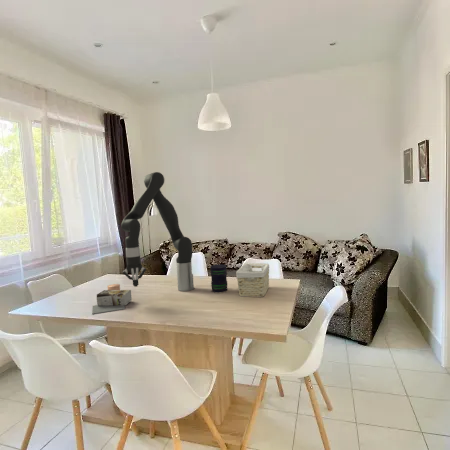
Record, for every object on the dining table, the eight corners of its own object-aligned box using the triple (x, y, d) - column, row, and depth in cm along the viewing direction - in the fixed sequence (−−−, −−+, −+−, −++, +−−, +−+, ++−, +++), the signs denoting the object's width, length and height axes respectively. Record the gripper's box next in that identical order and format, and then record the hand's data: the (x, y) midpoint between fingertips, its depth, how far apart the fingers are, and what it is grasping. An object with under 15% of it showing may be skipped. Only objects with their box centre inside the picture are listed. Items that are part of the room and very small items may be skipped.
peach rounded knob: (120, 294, 200) (119, 283, 199) (121, 297, 193) (120, 286, 193) (108, 296, 197) (107, 285, 197) (108, 299, 191) (107, 287, 190)
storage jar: (228, 287, 204) (227, 264, 202) (226, 292, 194) (225, 267, 193) (212, 288, 205) (211, 264, 203) (210, 292, 195) (209, 268, 194)
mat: (123, 301, 185) (123, 301, 185) (125, 309, 172) (125, 308, 172) (92, 306, 179) (92, 305, 179) (92, 314, 166) (92, 313, 166)
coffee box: (124, 294, 176) (96, 294, 177) (125, 305, 176) (97, 306, 178) (131, 289, 185) (103, 289, 186) (131, 300, 185) (104, 300, 187)
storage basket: (264, 298, 179) (263, 271, 178) (236, 297, 184) (234, 271, 183) (270, 286, 202) (269, 263, 201) (245, 286, 207) (244, 262, 205)
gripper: (144, 253, 184) (147, 283, 186) (120, 255, 180) (122, 286, 181) (146, 254, 177) (149, 286, 179) (121, 257, 173) (123, 289, 174)
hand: (135, 286), depth 180 cm, fingers closed
